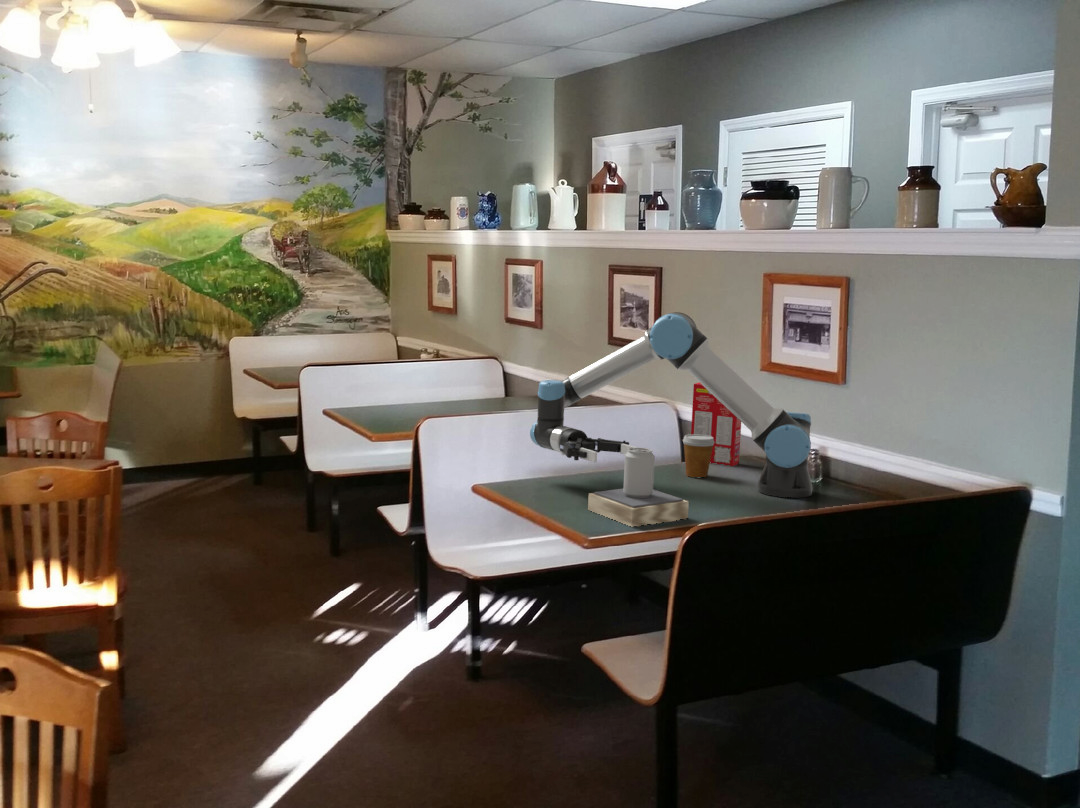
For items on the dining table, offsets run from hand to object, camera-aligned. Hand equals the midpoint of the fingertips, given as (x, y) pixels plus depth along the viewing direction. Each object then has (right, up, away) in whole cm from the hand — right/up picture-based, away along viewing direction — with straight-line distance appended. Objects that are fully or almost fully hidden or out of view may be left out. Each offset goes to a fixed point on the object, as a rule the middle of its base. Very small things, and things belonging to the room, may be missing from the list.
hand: (616, 455), depth 273 cm
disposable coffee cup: (+27, -9, +43) cm, 51 cm away
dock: (+5, -15, -6) cm, 17 cm away
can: (+5, -10, -7) cm, 13 cm away
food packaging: (+36, -6, +65) cm, 74 cm away
